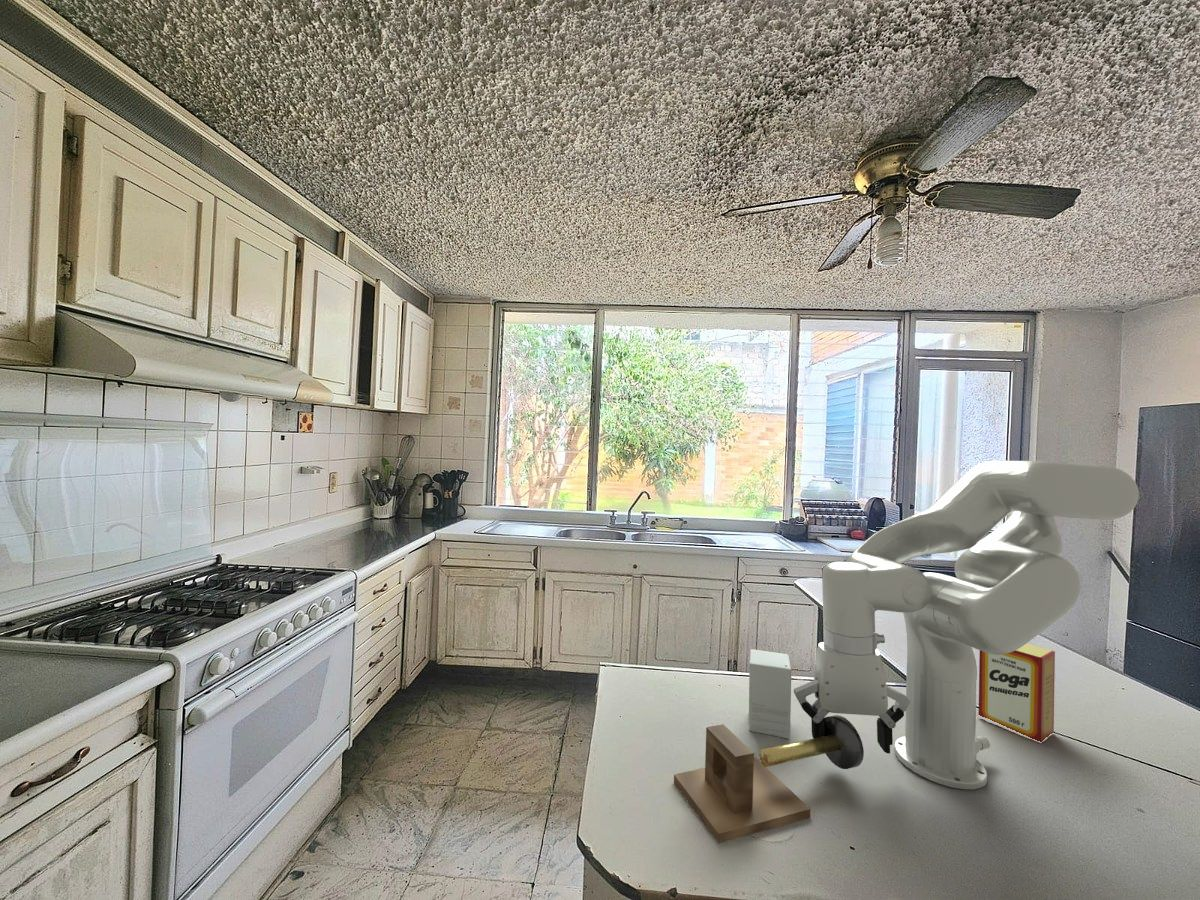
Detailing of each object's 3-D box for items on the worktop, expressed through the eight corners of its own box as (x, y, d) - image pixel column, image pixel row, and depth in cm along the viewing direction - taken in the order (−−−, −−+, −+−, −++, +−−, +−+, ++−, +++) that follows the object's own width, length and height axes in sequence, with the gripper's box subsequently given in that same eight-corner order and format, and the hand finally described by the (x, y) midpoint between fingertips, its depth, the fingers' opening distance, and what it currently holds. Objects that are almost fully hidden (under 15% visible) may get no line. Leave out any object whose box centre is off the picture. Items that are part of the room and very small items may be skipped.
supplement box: (788, 719, 91) (789, 653, 92) (790, 740, 84) (792, 669, 85) (748, 711, 94) (750, 647, 94) (747, 731, 87) (749, 662, 87)
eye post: (755, 764, 77) (756, 708, 78) (810, 817, 66) (811, 752, 66) (673, 782, 72) (675, 723, 73) (718, 843, 61) (720, 773, 61)
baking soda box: (1053, 734, 89) (1054, 649, 90) (1040, 744, 86) (1042, 655, 86) (992, 710, 97) (993, 632, 98) (978, 718, 94) (979, 638, 94)
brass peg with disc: (830, 748, 80) (832, 705, 80) (868, 776, 73) (869, 729, 73) (747, 767, 74) (749, 721, 74) (779, 798, 67) (781, 748, 67)
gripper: (896, 634, 79) (898, 736, 79) (787, 629, 82) (790, 728, 82) (918, 652, 72) (921, 765, 72) (798, 646, 75) (801, 755, 74)
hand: (851, 745), depth 77 cm, fingers open, 9 cm apart
